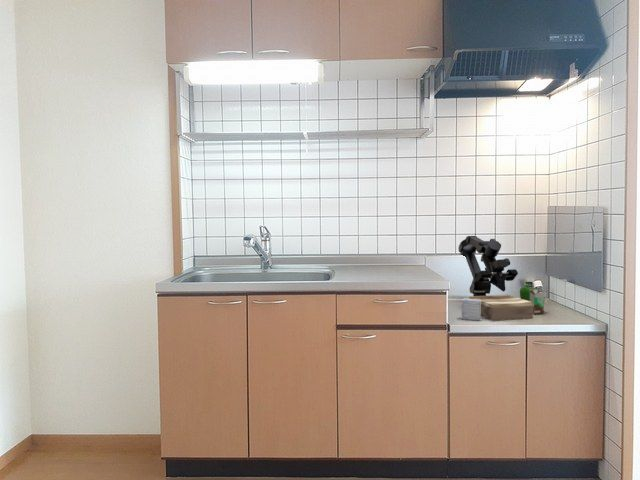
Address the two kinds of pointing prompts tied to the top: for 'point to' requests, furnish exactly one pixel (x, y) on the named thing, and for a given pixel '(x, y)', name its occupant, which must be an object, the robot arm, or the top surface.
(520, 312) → the floor platform
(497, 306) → the pale plank
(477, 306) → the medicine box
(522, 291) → the bell pepper
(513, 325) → the top surface
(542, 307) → the food container
